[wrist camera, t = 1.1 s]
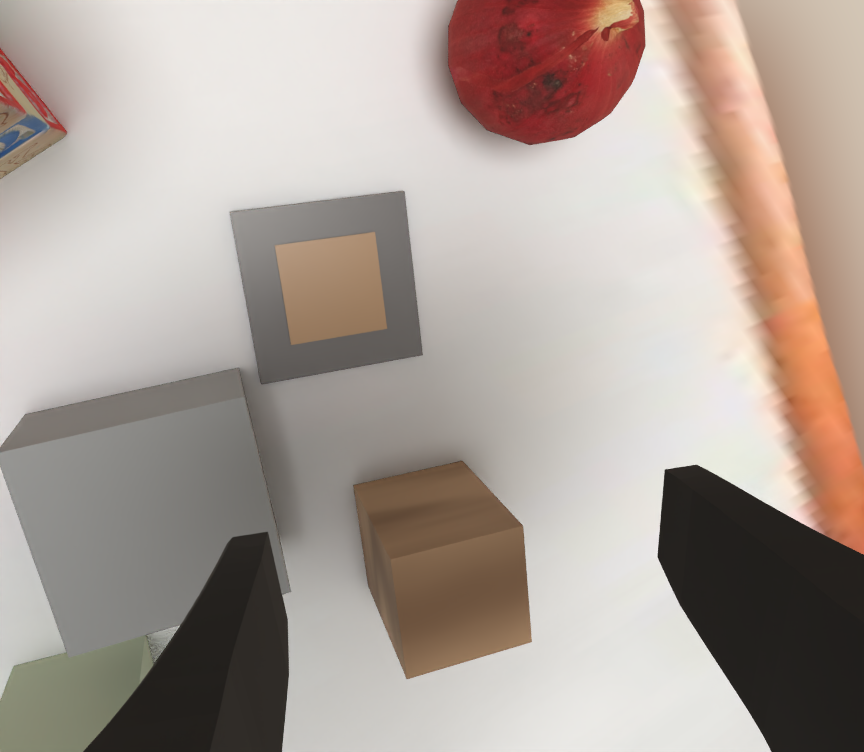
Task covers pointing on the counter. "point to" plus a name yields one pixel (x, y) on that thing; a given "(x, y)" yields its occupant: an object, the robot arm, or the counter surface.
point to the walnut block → (443, 566)
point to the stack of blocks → (22, 120)
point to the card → (328, 284)
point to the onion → (544, 63)
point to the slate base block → (137, 503)
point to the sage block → (69, 697)
